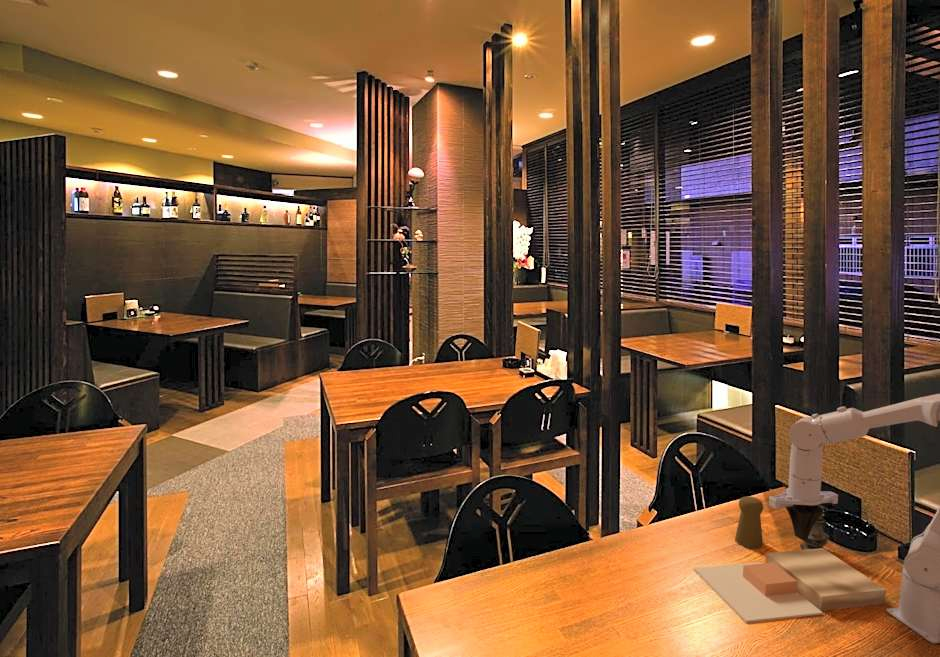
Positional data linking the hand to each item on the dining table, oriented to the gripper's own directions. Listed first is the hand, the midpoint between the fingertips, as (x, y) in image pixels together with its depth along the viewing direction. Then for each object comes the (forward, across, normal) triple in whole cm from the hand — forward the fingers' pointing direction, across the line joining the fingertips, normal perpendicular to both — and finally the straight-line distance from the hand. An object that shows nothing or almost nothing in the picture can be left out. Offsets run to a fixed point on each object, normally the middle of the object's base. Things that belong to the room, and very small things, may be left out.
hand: (801, 537), depth 116 cm
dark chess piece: (+10, -13, -10) cm, 19 cm away
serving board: (+9, -3, +2) cm, 10 cm away
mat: (+9, +12, +2) cm, 15 cm away
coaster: (+8, +8, +1) cm, 11 cm away
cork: (+10, 0, -16) cm, 18 cm away
